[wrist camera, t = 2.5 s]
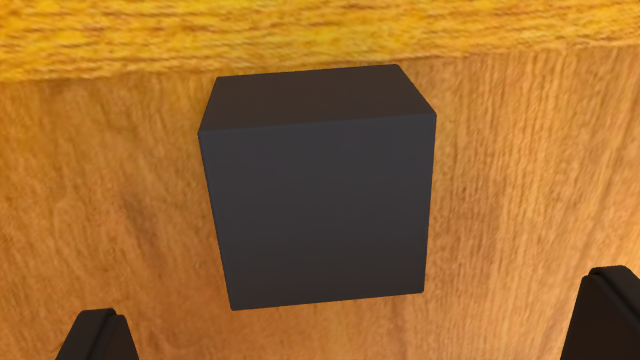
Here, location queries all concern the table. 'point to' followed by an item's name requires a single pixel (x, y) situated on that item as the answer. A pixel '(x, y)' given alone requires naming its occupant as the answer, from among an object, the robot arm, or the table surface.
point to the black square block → (319, 184)
